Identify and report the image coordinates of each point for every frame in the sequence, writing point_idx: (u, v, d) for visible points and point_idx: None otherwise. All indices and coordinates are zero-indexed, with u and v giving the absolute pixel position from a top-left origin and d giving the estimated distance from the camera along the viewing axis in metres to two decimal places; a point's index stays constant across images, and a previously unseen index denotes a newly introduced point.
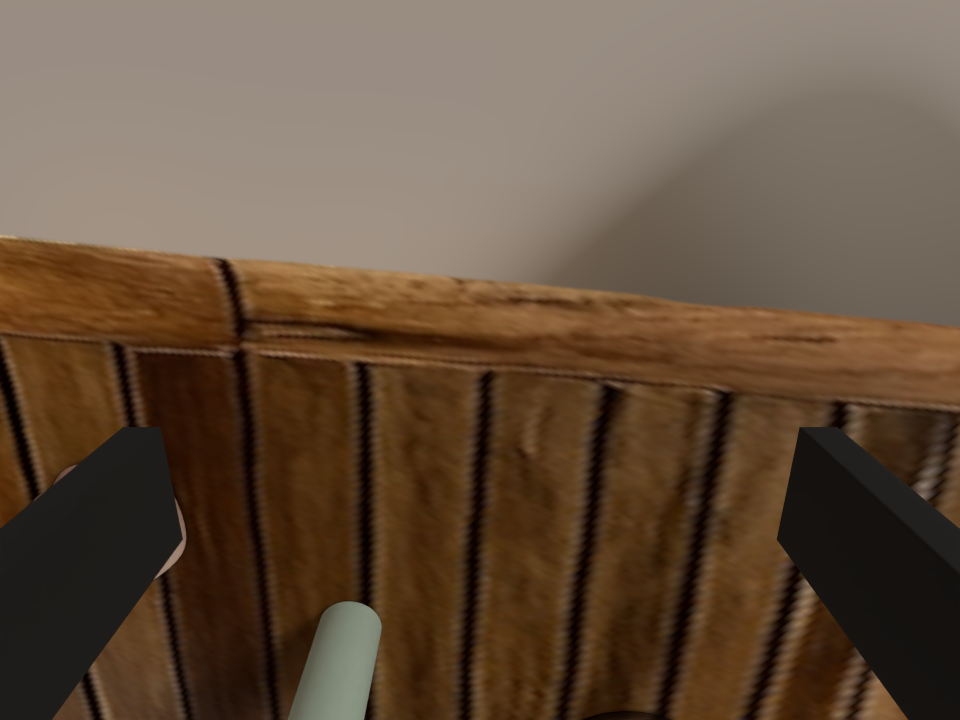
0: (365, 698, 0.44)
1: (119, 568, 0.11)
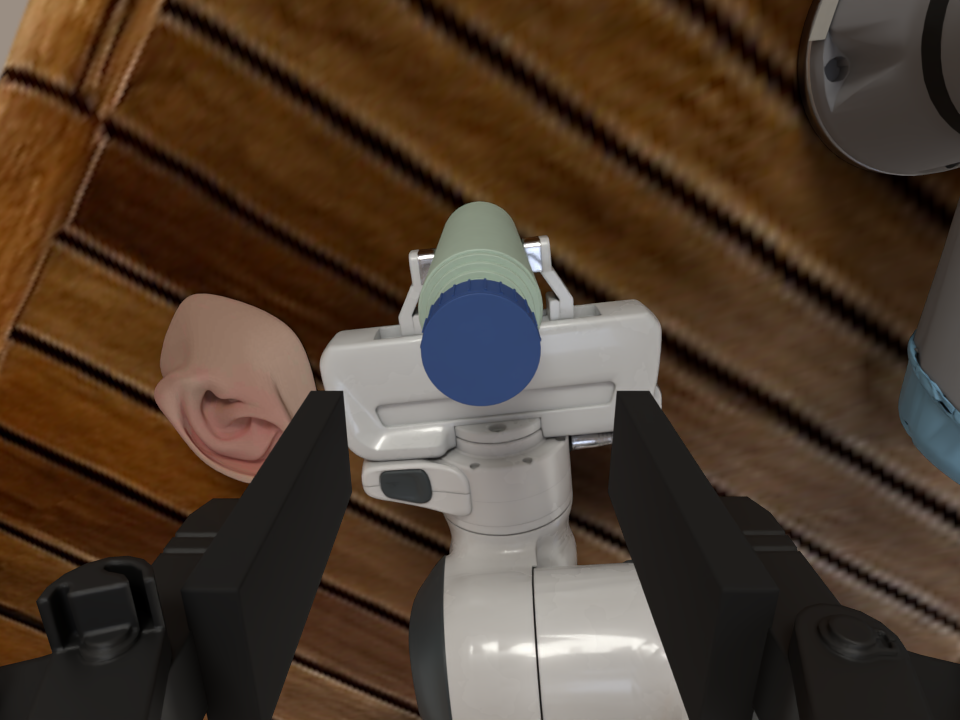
0: (497, 219, 0.34)
1: (328, 508, 0.13)
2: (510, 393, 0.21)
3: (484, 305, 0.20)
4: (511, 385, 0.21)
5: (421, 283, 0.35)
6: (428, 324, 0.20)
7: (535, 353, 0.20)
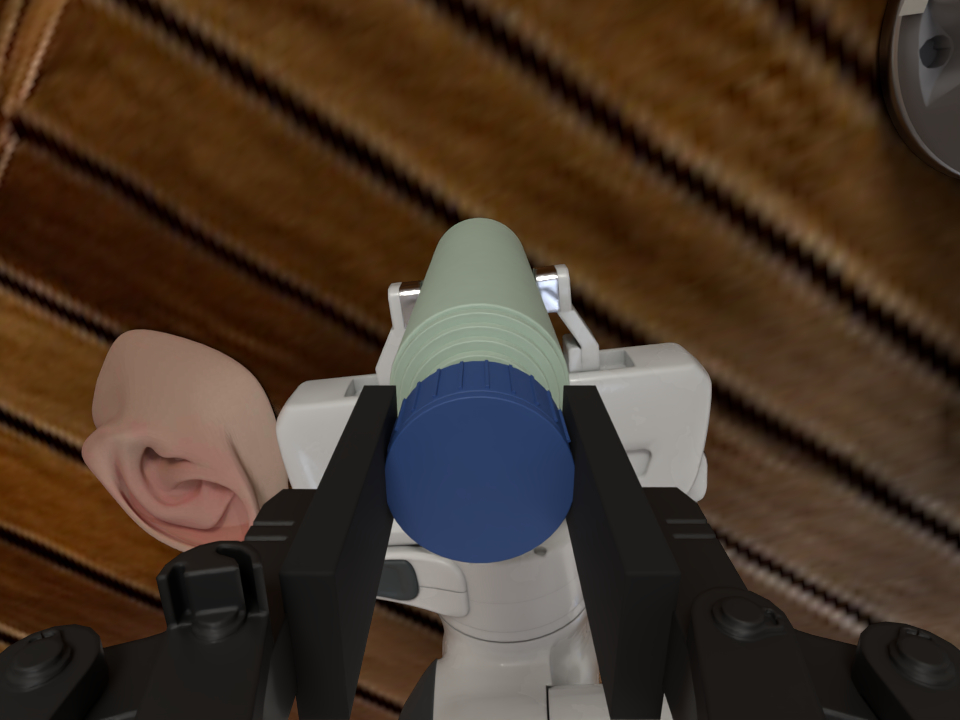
0: (501, 244, 0.26)
1: None
2: (526, 544, 0.13)
3: (485, 415, 0.12)
4: (528, 533, 0.13)
5: (404, 326, 0.27)
6: (394, 443, 0.12)
7: (567, 486, 0.13)
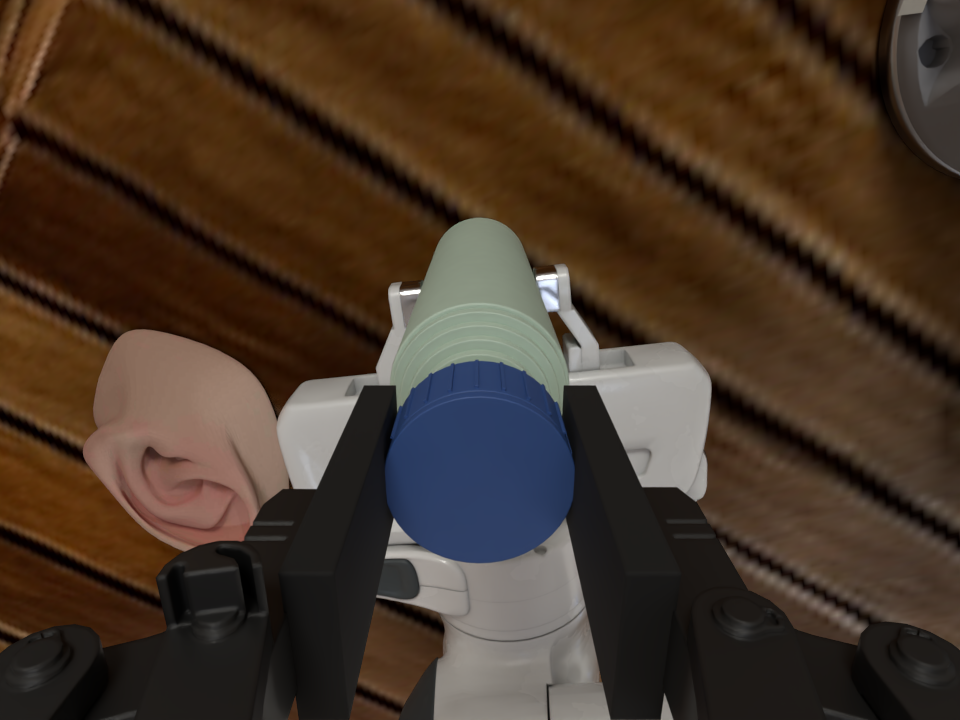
0: (501, 244, 0.26)
1: None
2: (558, 447, 0.12)
3: (402, 473, 0.13)
4: (544, 445, 0.12)
5: (404, 326, 0.27)
6: (428, 548, 0.13)
7: (491, 405, 0.12)
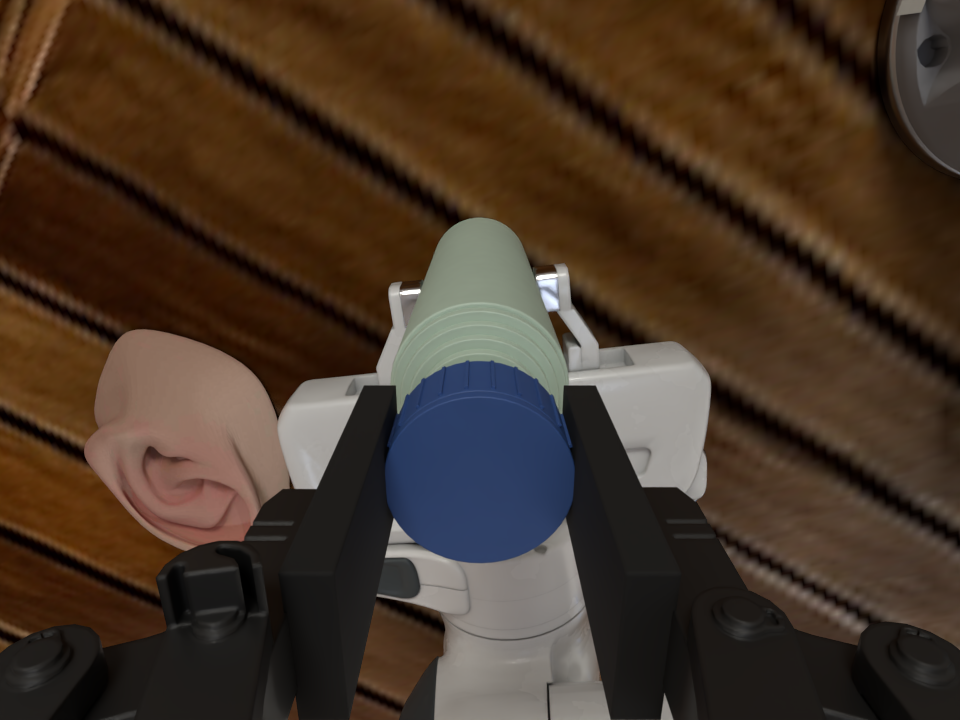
0: (501, 244, 0.26)
1: None
2: (444, 410, 0.12)
3: (459, 546, 0.13)
4: (440, 424, 0.12)
5: (404, 325, 0.27)
6: (549, 535, 0.13)
7: (393, 467, 0.13)
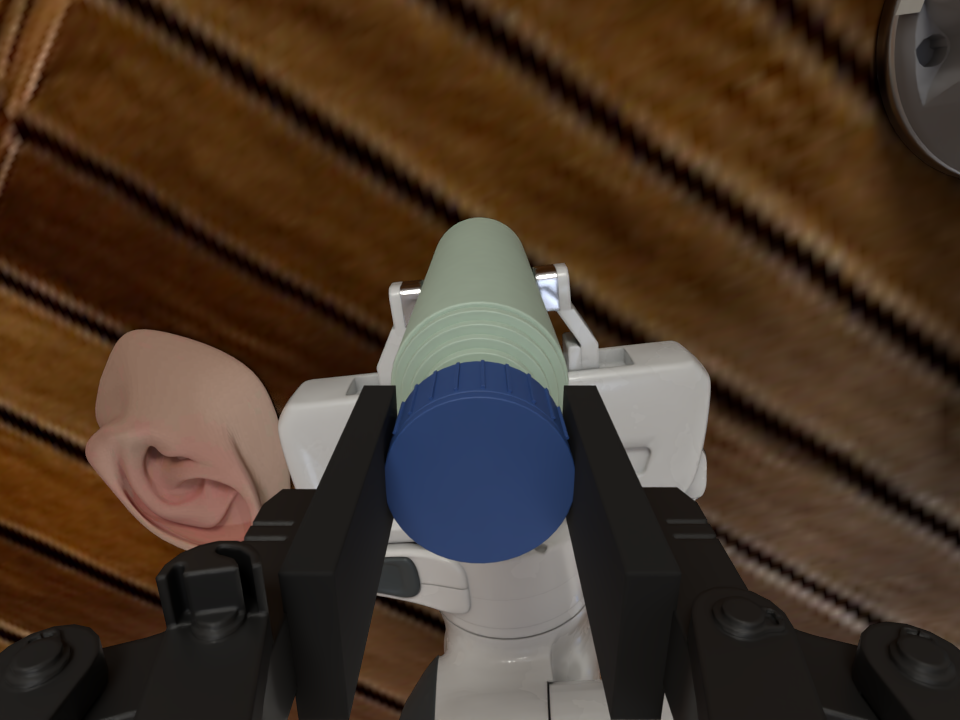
0: (501, 243, 0.26)
1: None
2: (396, 505, 0.13)
3: (550, 509, 0.13)
4: (410, 511, 0.13)
5: (405, 325, 0.27)
6: (550, 425, 0.12)
7: (452, 553, 0.13)
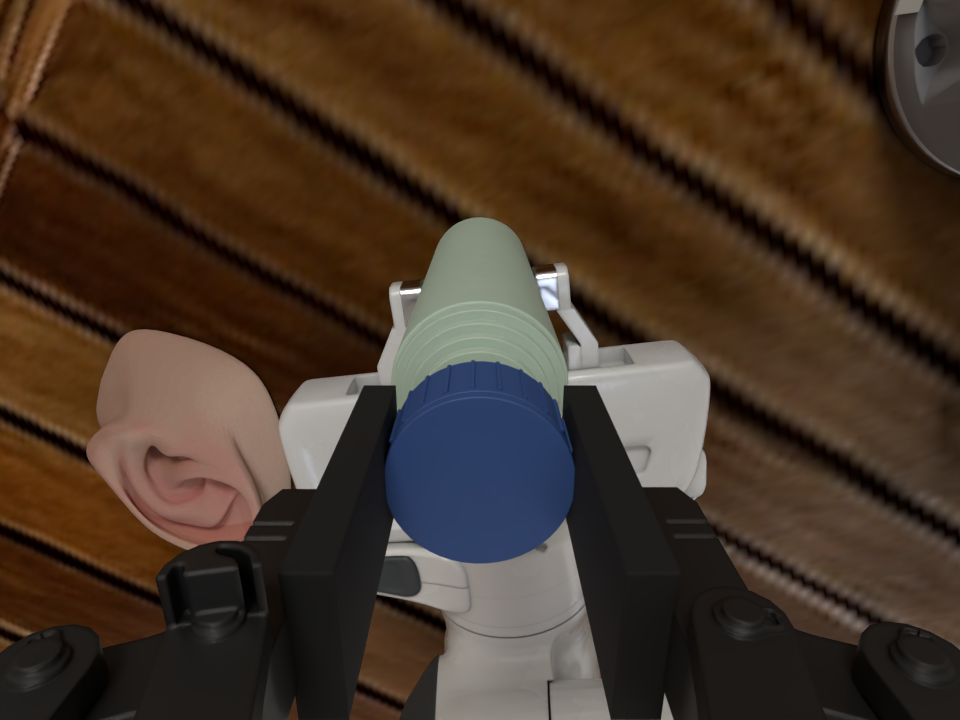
0: (501, 243, 0.26)
1: None
2: (495, 555, 0.13)
3: (516, 423, 0.12)
4: (502, 545, 0.13)
5: (405, 325, 0.27)
6: (418, 417, 0.12)
7: (557, 515, 0.13)
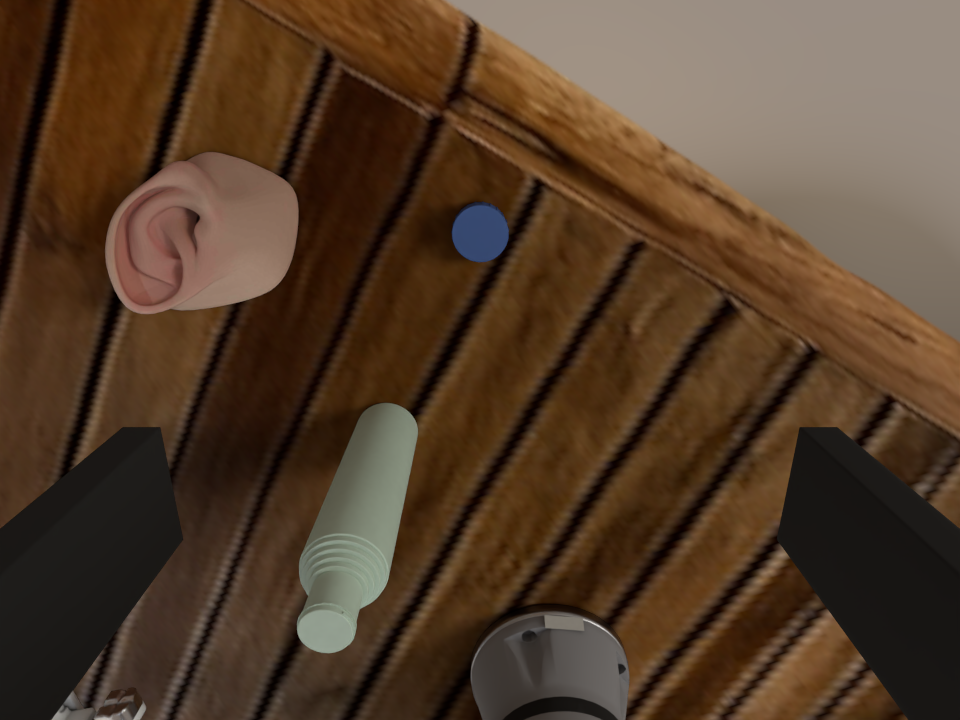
0: (407, 484, 0.45)
1: (119, 568, 0.11)
2: (505, 231, 0.44)
3: (461, 221, 0.43)
4: (502, 229, 0.43)
5: None
6: (457, 248, 0.44)
7: (493, 211, 0.43)
